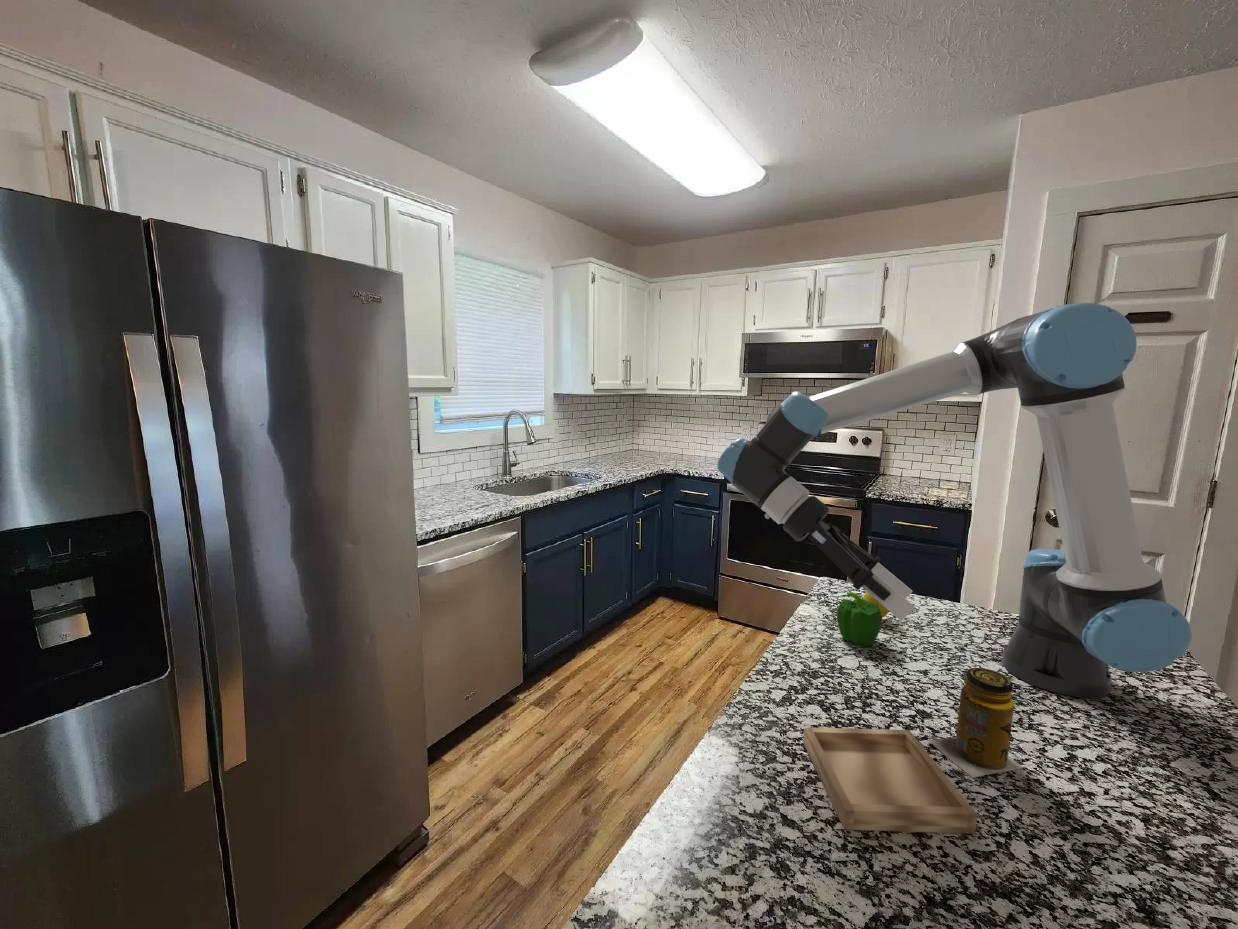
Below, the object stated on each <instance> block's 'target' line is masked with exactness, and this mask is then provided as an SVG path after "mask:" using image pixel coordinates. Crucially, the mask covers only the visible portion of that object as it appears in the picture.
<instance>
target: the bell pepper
mask: <svg viewBox="0 0 1238 929" xmlns="http://www.w3.org/2000/svg"><path fill="white" fill-rule="evenodd" d="M846 595H847V597H848V598H849V597H853V598H855V599H854V600H850V599H848V598H847V599H846V598H842V600H841V602H840V603H839V605H838V607H837V608H836V609H837V610H836V619H837V620H836V621H837V623H838V624H837V625H838V629H839V633H840V636H841V637H842V639H843V640H845V641H848V642H852V643H853V644H855V645H857V646H863V647H869V646H871V645H872V644H873V643H874V642H875V641H876V640H877V638H878V635H879V633H880V632H881V631H880V630H881V628H882V623H883V622H882V621H883V618H882V615H881V612H880V609H879V606H878V604H875V603H869V602H867V601H866V600H864V599H863V598H862V597H861V596H860V595H859V594H858V593H856V592H852V591H848V592H846Z"/></svg>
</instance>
